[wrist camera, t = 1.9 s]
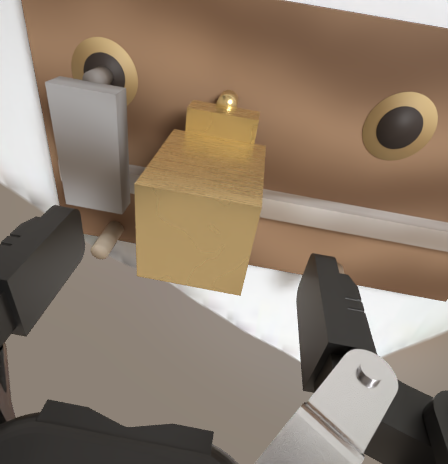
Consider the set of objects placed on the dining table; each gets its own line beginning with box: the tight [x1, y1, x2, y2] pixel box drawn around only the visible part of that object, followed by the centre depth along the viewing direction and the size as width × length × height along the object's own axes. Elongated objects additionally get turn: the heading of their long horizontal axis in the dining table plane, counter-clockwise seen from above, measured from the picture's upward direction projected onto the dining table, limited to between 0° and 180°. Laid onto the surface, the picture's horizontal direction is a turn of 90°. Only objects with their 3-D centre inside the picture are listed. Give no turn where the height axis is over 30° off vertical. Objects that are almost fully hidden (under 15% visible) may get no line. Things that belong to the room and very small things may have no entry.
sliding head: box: [134, 90, 266, 296], centre depth 14 cm, size 6×4×7 cm, turn 172°
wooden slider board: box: [21, 0, 448, 302], centre depth 17 cm, size 14×25×4 cm, turn 82°
